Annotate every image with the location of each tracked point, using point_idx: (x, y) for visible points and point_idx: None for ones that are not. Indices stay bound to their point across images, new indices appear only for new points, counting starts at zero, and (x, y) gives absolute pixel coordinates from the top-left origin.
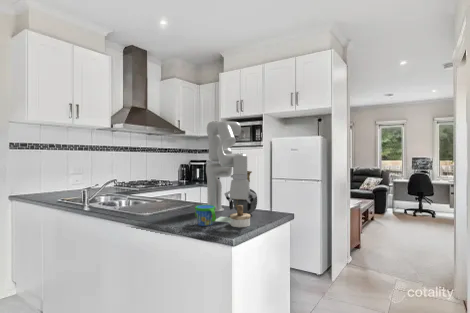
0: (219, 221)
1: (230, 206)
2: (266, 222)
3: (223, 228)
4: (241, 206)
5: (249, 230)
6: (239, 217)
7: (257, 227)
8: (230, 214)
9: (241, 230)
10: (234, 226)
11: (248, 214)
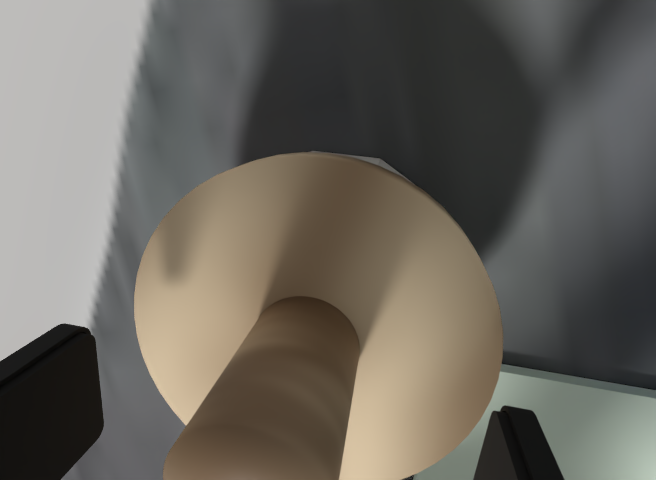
0: (647, 403)
1: (542, 468)
2: (109, 437)
3: (539, 92)
4: (189, 425)
5: (171, 74)
6: (270, 160)
7: (128, 234)
8: (494, 373)
9: (265, 46)
10: (384, 163)
11: (186, 399)
